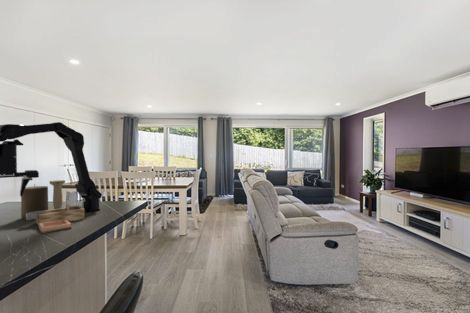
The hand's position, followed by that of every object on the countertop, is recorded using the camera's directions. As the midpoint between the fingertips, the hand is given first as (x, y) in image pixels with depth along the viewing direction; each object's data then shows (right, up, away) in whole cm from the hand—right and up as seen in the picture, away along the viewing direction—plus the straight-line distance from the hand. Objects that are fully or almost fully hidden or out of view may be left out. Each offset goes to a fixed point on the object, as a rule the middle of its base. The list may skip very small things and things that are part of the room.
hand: (7, 197), depth 97 cm
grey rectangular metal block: (+6, -10, +6) cm, 13 cm away
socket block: (+12, -12, +12) cm, 21 cm away
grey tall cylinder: (+15, -9, +15) cm, 23 cm away
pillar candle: (-3, -12, +18) cm, 22 cm away
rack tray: (+17, -12, +2) cm, 21 cm away
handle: (-2, -12, +30) cm, 33 cm away
